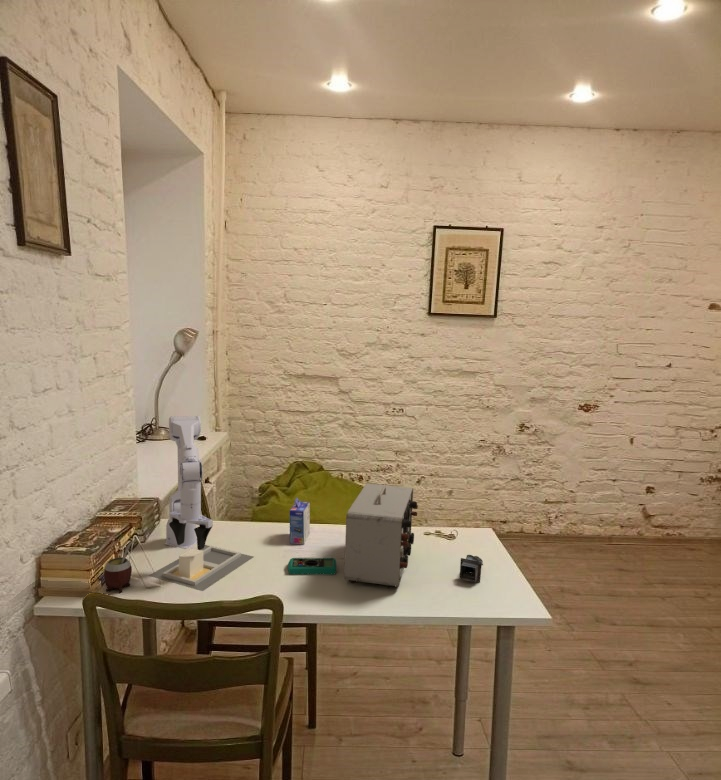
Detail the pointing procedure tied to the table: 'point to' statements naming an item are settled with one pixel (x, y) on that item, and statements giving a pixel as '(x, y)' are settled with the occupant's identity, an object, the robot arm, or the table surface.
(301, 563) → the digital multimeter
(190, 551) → the plug
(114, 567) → the mate gourd
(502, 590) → the table surface
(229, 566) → the grey flat tray
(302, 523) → the ink cartridge box
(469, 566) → the ethernet keystone jack
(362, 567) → the vintage electronic device
